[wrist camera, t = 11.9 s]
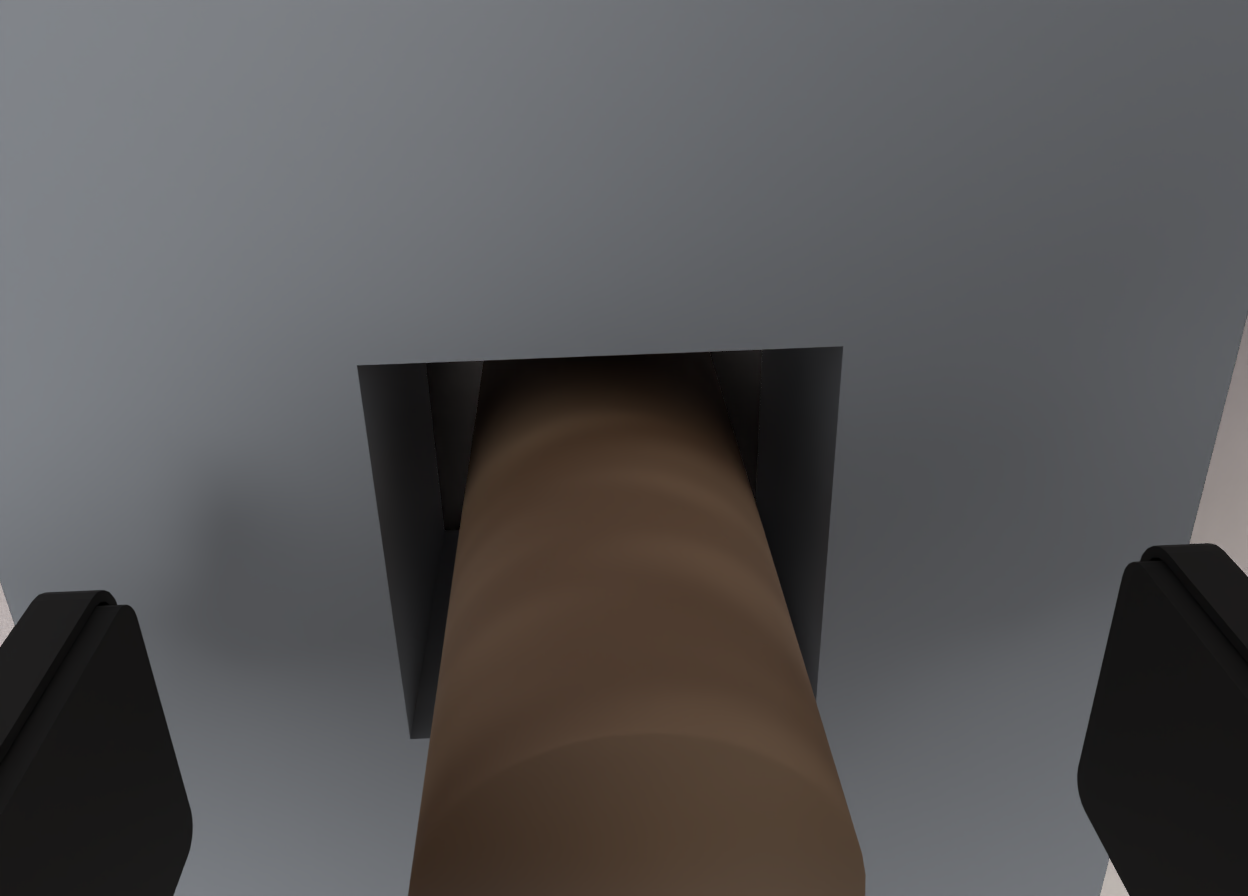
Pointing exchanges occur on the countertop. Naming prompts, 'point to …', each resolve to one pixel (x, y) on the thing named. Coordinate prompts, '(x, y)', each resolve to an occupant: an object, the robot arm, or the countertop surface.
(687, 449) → the peg
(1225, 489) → the countertop surface
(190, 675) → the socket block
